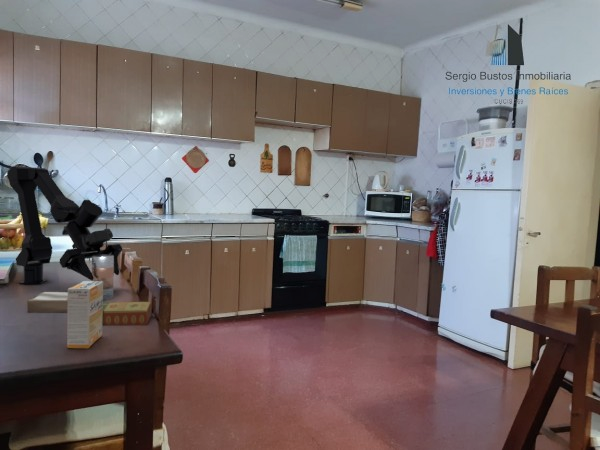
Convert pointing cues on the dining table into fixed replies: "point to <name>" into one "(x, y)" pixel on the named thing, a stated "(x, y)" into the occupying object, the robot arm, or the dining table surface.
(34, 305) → the board
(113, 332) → the dining table surface
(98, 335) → the supplement box
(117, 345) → the dining table surface
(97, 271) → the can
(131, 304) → the carton
